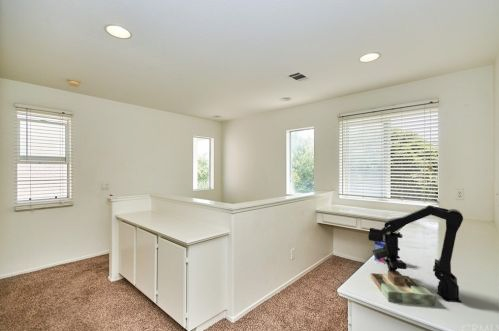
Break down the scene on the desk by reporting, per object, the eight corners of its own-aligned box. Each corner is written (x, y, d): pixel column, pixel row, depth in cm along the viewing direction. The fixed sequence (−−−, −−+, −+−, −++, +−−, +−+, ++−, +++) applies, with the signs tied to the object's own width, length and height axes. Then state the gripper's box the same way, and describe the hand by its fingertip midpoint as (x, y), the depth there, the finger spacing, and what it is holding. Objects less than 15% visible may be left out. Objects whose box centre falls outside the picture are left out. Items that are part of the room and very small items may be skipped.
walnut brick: (397, 278, 116) (397, 270, 116) (404, 285, 109) (404, 277, 109) (387, 278, 117) (387, 270, 117) (394, 285, 110) (394, 276, 110)
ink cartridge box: (374, 260, 146) (374, 237, 146) (377, 258, 149) (377, 235, 149) (391, 265, 138) (391, 241, 138) (395, 263, 142) (395, 239, 142)
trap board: (408, 280, 120) (408, 271, 120) (434, 305, 98) (434, 295, 98) (370, 277, 123) (370, 269, 123) (388, 301, 101) (388, 291, 101)
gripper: (368, 238, 129) (368, 266, 129) (381, 250, 111) (381, 282, 111) (390, 239, 127) (390, 267, 127) (407, 251, 109) (407, 285, 109)
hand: (391, 275), depth 119 cm, fingers closed
